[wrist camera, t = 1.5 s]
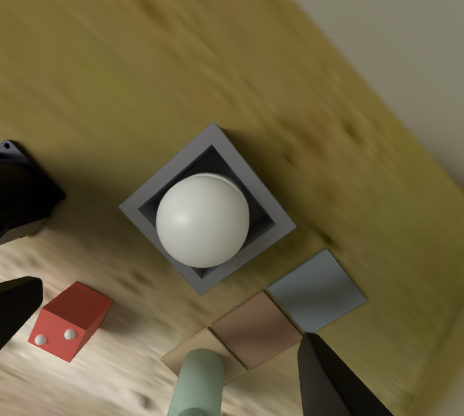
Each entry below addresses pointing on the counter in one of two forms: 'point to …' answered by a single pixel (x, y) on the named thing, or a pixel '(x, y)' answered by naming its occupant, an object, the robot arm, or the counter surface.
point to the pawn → (199, 385)
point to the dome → (203, 219)
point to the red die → (69, 321)
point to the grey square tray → (226, 162)
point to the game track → (276, 317)
